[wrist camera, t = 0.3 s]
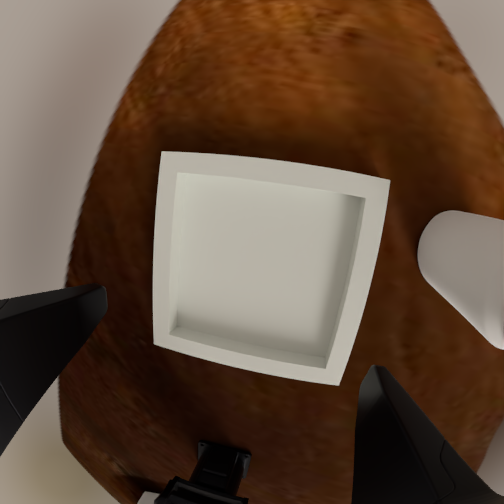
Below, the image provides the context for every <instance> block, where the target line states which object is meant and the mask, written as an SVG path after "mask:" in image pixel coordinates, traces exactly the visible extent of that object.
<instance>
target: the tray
mask: <svg viewBox="0 0 504 504" xmlns="http://www.w3.org/2000/svg"><path fill="white" fill-rule="evenodd" d="M389 186H390V180H387V179H383V178H378V177H374V176H369V175H364V174H359V173H354V172H349V171H343V170H338V169H332V168H326V167H320V166H314V165H308V164H301V163H294V162H287V161H279V160H271V159H263V158H254V157H244V156H233V155H221V154H207V153H190V152H166V151H162V153H161V161H160V170H159V180H158V190H157V202H156V215H155V231H154V254H153V332H154V344H155V345H158V346H161V347H164V348H167V349H171V350H174V351H177V352H180V353H184V354H187V355H191V356H194V357H198V358H202V359H205V360H209V361H213V362H217V363H221V364H225V365H229V366H233V367H237V368H241V369H246V370H250V371H255V372H260V373H265V374H270V375H275V376H280V377H285V378H291V379H297V380H303V381H309V382H316V383H323V384H331V385H339V383H340V381H341V378H342V375H343V373H344V370H345V367H346V364H347V361H348V358H349V356H350V353H351V350H352V347H353V344H354V340H355V337H356V334H357V331H358V328H359V324H360V321H361V317H362V314H363V311H364V307H365V303H366V300H367V296H368V292H369V288H370V284H371V280H372V276H373V272H374V268H375V263H376V259H377V254H378V250H379V245H380V240H381V235H382V229H383V224H384V218H385V213H386V207H387V200H388V193H389Z"/></svg>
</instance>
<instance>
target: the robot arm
mask: <svg viewBox="0 0 504 504" xmlns="http://www.w3.org/2000/svg"><path fill="white" fill-rule="evenodd" d="M106 311H107V296H106V289H105V287H104V286H102V285H99V284H97V283H92V284H87V285H81V286H76V287H70V288H64V289H59V290H53V291H48V292H42V293H37V294H31V295H25V296H20V297H15V298H11V299H9V298H8V299H3V300H0V456H1V455H2V453H3V452H4V450H5V448H6V447H7V445H8V444H9V442H10V441H11V439H12V438H13V437H14V435H15V434H16V432H17V431H18V429H19V428H20V426H21V425H22V423H23V422H24V421H25V419H26V418H27V416H28V415H29V414H30V412H31V411H32V409H33V408H34V407H35V405H36V404H37V403H38V401H39V400H40V399H41V397H42V396H43V395H44V393H45V392H46V391H47V389H48V388H49V387H50V385H51V384H52V383H53V382H54V381H55V379H56V378H57V377H58V375H59V374H60V373H61V372H62V370H63V369H64V368H65V367H66V365H67V364H68V363H69V362H70V361H71V359H72V358H73V357H74V356H75V354H76V353H77V352H78V351H79V350H80V348H81V347H82V346H83V345H84V343H85V342H86V341H87V339H88V338H89V336H90V335H91V334H92V332H93V331H94V329H95V328H96V326H97V325H98V323H99V322H100V320H101V319H102V318H103V316H104V315H105V313H106ZM444 439H445V438H444V436H443V435H442V434H441V433H440V432H439V430H438V429H437V428H436V427H435V425H434V424H433V423H432V422H431V421H430V419H429V418H428V417H427V416H426V415H425V413H424V412H423V411H422V410H421V409H420V407H419V406H418V405H417V404H416V403H415V401H414V400H413V399H412V398H411V397H410V395H409V394H408V393H407V392H406V391H405V390H404V388H403V387H402V386H401V385H400V384H399V383H398V381H397V380H396V379H395V378H394V377H393V375H392V374H391V373H390V372H389V371H388V370H387V369H386V368H385V367H384V366H378V365H373V366H372V367H371V368H370V369H369V371H368V373H367V375H366V376H365V378H364V380H363V382H362V383H361V386H360V391H359V401H358V410H357V419H356V427H355V454H354V476H353V491H352V503H351V504H504V496H501V495H499V494H497V493H495V492H494V491H493V490H492V489H490V487H489V486H488V485H487V484H486V483H485V482H484V481H483V480H482V479H481V478H480V477H479V476H478V475H477V474H476V473H475V472H474V471H473V470H472V469H471V468H470V467H469V466H468V465H467V463H466V462H465V461H464V460H463V459H462V458H461V457H460V456H459V455H458V453H457V452H456V451H455V450H454V449H453V447H452V446H451V445H450V444H449V443H448V441H447V440H446V439H445V440H444ZM251 455H252V454H251V453H249V452H245V451H241V450H237V449H232V448H228V447H225V446H221V445H217V444H214V443H210V442H207V441H203V440H200V441H199V443H198V463H197V465H196V467H195V469H194V471H193V473H192V475H191V477H190V479H189V481H186V480H184V479H181V478H180V477H178V476H175V477H174V479H173V480H170V481H169V482H168V484H167V486H166V488H165V489H164V490H163V491H162V493H161V494H160V495H159V496H158V497H157V498H156V499H155V500H154V504H248V499H249V498H245V497H244V498H242V497H238V496H236V494H237V491H238V488H239V485H240V482H241V479H242V478H246V475H247V471H248V467H249V463H250V459H251Z"/></svg>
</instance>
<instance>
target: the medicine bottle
mask: <svg viewBox="0 0 504 504" xmlns="http://www.w3.org/2000/svg"><path fill="white" fill-rule="evenodd" d="M159 495H160V494H157V493H152V492H147V491H145V492H144V494H143V495H142V497H141V498H140V500H139V502H138V503H137V504H154V500H155V499H156V498H157V497H158V496H159Z"/></svg>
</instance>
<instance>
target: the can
mask: <svg viewBox="0 0 504 504" xmlns="http://www.w3.org/2000/svg"><path fill="white" fill-rule="evenodd" d="M418 264H419V268H420V271H421V273H422V275H423V277H424V278H425V279H426V281H427V282H428V283H429V284H430V285H431V286H432V287H433V288H434V289H435V290H437V291H438V292H439V293H440V294H441V295H442V296H443V297H444V298H445V299H446V300H447V301H448V302H449V303H450V304H451V305H452V306H454V307H455V308H456V309H457V310H458V311H459V312H460V313H461V314H462V315H463V316H464V317H465V318H466V319H467V320H468V321H469V322H470V323H471V324H472V325H473V326H474V327H475V328H476V329H477V330H478V331H479V332H480V333H481V334H482V335H483V336H484V337H485V338H486V339H487V340H488V341H489V342H490V343H491V344H492V345H494V346H495V347H497V348H499V349H503V350H504V220H500V219H495V218H491V217H487V216H482V215H477V214H472V213H467V212H462V211H455V210H450V211H445V212H442V213H439V214H438V215H436V216H435V217H434V218H433V219H432V220H431V221H430V222H429V223H428V225H427V226H426V228H425V229H424V231H423V233H422V235H421V238H420V241H419V245H418Z"/></svg>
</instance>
